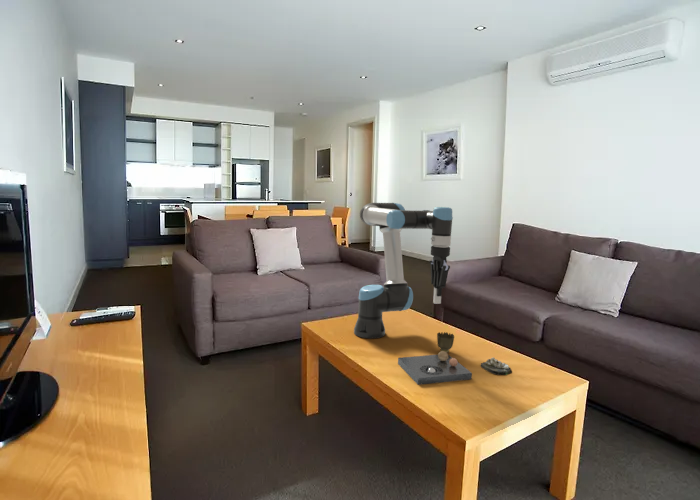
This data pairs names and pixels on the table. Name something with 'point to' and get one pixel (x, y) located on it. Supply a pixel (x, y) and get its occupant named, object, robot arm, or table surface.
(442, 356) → the beech ball
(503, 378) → the table surface
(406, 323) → the table surface
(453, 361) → the terracotta ball
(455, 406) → the table surface
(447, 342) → the cup
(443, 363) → the race plate
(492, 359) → the grey rocky sculpture
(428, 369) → the steel ball
